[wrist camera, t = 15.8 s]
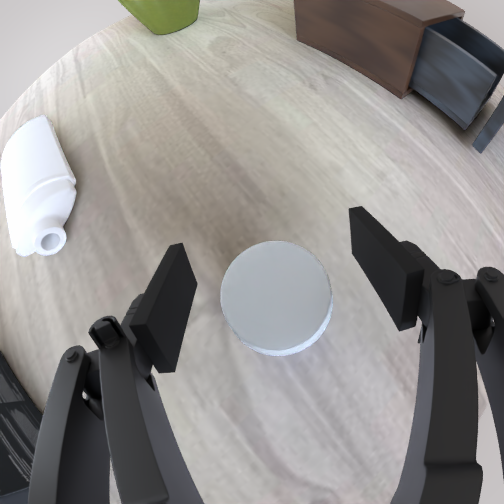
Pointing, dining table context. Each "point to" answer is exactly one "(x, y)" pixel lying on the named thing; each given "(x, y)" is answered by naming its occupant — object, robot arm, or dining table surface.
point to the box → (16, 437)
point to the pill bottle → (276, 298)
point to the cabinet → (372, 34)
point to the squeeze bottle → (37, 188)
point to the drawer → (460, 74)
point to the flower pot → (163, 13)
